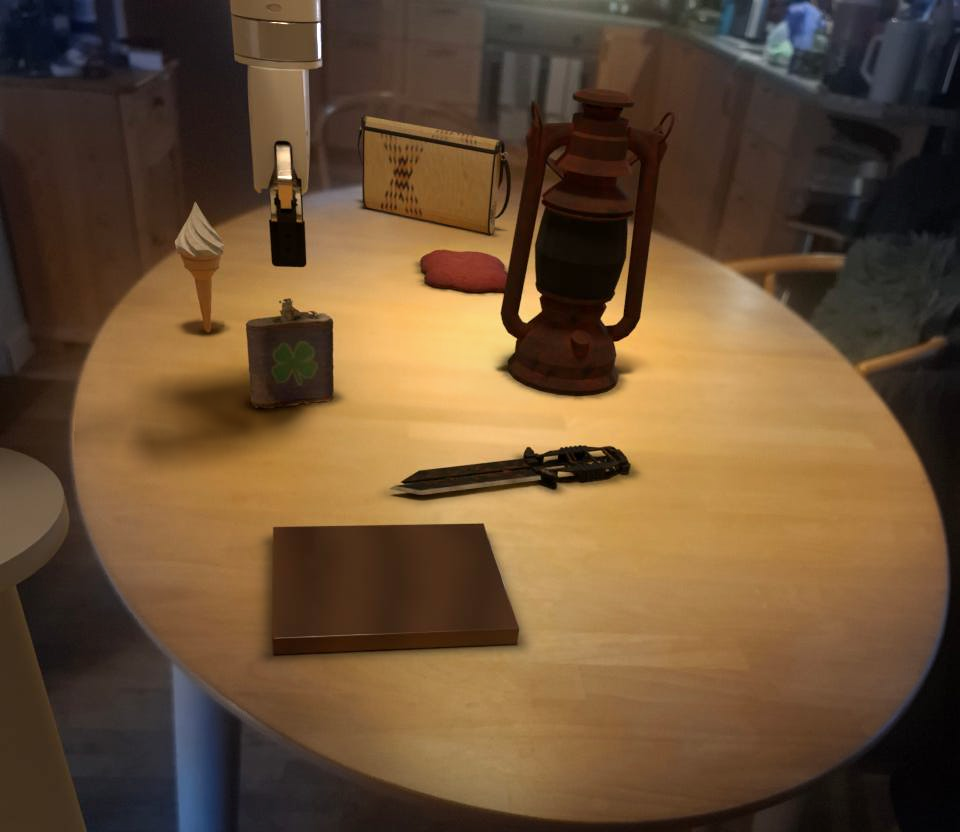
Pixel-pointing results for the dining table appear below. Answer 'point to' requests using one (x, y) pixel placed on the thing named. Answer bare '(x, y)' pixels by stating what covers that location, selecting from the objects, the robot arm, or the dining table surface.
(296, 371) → the flask
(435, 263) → the patty
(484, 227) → the clutch purse
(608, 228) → the lantern
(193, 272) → the ice cream cone
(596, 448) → the knife
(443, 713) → the dining table surface
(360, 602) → the serving board
